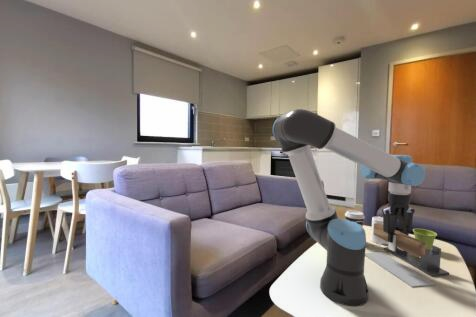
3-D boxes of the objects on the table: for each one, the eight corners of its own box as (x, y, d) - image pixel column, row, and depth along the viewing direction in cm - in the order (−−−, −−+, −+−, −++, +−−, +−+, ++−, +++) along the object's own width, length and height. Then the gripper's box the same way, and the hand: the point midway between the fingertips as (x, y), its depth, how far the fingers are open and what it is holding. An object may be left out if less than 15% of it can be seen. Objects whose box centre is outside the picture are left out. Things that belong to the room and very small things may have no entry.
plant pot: (440, 254, 112) (441, 236, 112) (418, 252, 114) (419, 234, 113) (428, 246, 122) (429, 229, 121) (407, 244, 123) (408, 227, 123)
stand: (431, 276, 93) (433, 252, 92) (384, 249, 116) (385, 230, 116) (449, 275, 94) (451, 251, 93) (398, 248, 118) (399, 229, 117)
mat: (411, 287, 85) (411, 286, 85) (362, 253, 111) (362, 253, 111) (435, 285, 87) (435, 283, 87) (381, 252, 113) (381, 251, 113)
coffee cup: (364, 239, 128) (365, 211, 127) (362, 245, 120) (364, 216, 119) (345, 235, 133) (346, 209, 132) (342, 241, 125) (343, 213, 124)
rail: (417, 257, 87) (417, 243, 87) (373, 234, 109) (373, 223, 109) (425, 256, 88) (425, 243, 88) (380, 234, 110) (380, 223, 109)
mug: (399, 245, 122) (400, 222, 121) (388, 248, 118) (389, 224, 117) (377, 237, 132) (378, 215, 132) (366, 239, 129) (368, 217, 128)
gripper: (388, 195, 92) (385, 255, 94) (425, 194, 95) (421, 252, 96) (374, 191, 99) (371, 246, 101) (408, 190, 102) (405, 244, 104)
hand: (396, 249), depth 99 cm, fingers closed on rail, 3 cm apart
